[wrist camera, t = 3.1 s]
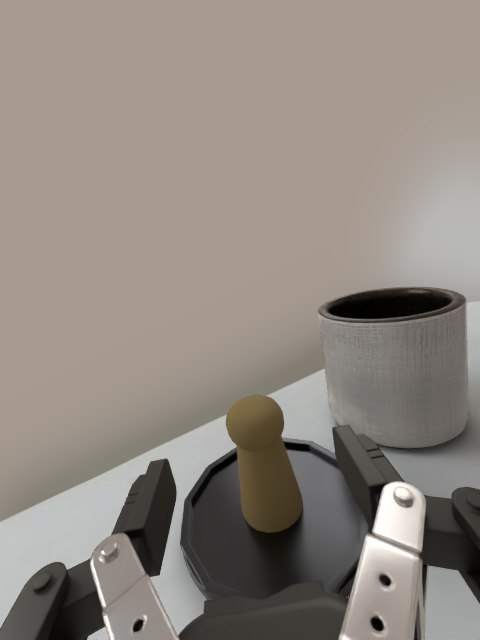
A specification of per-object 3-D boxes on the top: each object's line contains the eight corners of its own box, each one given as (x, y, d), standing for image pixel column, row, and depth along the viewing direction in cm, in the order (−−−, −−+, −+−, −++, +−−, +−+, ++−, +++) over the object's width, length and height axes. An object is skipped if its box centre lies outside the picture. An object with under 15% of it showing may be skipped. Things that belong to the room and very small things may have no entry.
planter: (359, 376, 50) (350, 288, 46) (479, 398, 38) (479, 283, 34) (308, 426, 39) (291, 318, 36) (452, 478, 28) (449, 326, 24)
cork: (229, 506, 29) (204, 409, 26) (270, 469, 32) (253, 381, 30) (273, 547, 24) (248, 434, 21) (316, 498, 28) (299, 397, 25)
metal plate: (277, 428, 40) (275, 419, 40) (414, 507, 26) (413, 494, 25) (155, 511, 31) (152, 500, 31) (263, 711, 16) (258, 695, 16)
